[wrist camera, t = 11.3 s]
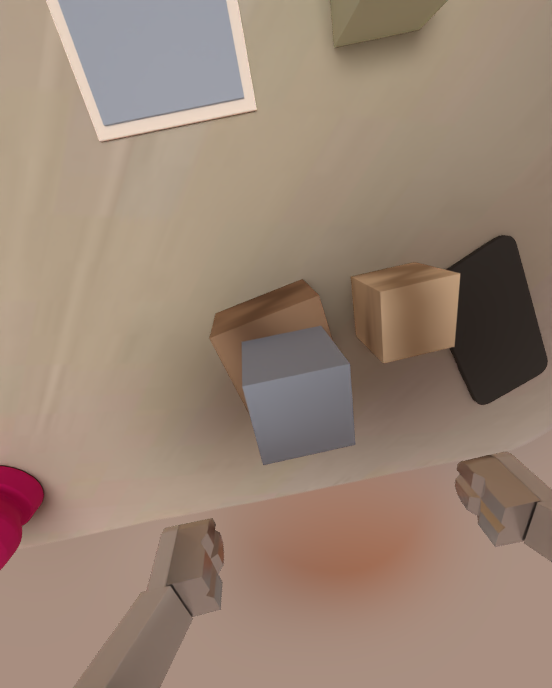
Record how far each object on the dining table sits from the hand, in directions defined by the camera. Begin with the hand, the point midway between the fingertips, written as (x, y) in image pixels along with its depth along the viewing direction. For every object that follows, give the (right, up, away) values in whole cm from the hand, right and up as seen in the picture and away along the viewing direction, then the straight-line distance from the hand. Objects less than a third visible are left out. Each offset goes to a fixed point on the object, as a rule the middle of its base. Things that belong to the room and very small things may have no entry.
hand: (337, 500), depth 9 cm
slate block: (-1, +4, +9) cm, 10 cm away
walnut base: (-2, +6, +13) cm, 15 cm away
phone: (+17, +7, +16) cm, 24 cm away
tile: (-8, +21, +6) cm, 23 cm away
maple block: (+7, +9, +13) cm, 17 cm away
